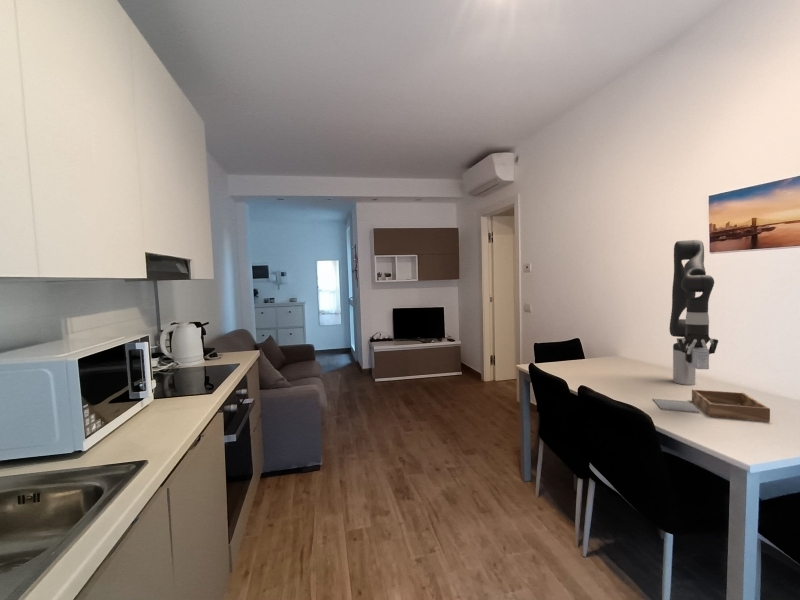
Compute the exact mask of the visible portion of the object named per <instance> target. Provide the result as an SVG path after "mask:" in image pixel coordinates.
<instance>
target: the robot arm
mask: <svg viewBox="0 0 800 600" xmlns="http://www.w3.org/2000/svg"><path fill="white" fill-rule="evenodd" d="M683 261H687V262H686V263H685V264H683ZM704 261H705V246H704V242H703V240H699V239H692V240H691V239H690V240H689V239H688V240H677V241H676V242H675V243H674V246H673V279H672V280H673V281H672V290H671V291H672V293H671V314H670V319H669V334H670V336H671V337H675V338H676V342H675V343H673V345H672V382H674V383H676V384H678V385H679V384H680V385H686V386H694V385H696V370H697V369H696V368H693V367H690V366H688V365H686V361H687V362H688V363H691V354H690V353H691V351H692V349H693V348H694V347H703V348H708V346H707V344H708V342H709V343H710V345H709V348H708V349H709V355H711V354H715V353H716V351H717V350H716V349H717V346H718V343H719V340H718V339H716V338H711V337H710V336H709V335H710V330H709V328H710V316H709V301H710V297H711V293H712V290H713V289H714V285H715V279H714V278H713V276H712V275H710V274H707V272H706V268H705V262H704ZM696 293H701V294H700V295H698V296H697V295H696ZM685 310H686V315H685V318H680V317H681V315H682V313H683V312H684V311H685ZM677 337H678V338H677Z"/></svg>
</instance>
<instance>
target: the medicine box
mask: <svg viewBox="0 0 800 600" xmlns="http://www.w3.org/2000/svg"><path fill="white" fill-rule="evenodd" d="M690 354H691V363H688V362H687V361H686V365H688V366H690V367H693V368H696V370H709V369H710V354H709V348H708V347H707V348H703V347H694V348H693V349H692V351H691V353H690Z"/></svg>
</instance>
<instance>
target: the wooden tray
mask: <svg viewBox="0 0 800 600" xmlns="http://www.w3.org/2000/svg"><path fill="white" fill-rule="evenodd" d="M691 402H693V403H694V404H695V405H696V406H697V407H699V408H700V410H702V411H703V412H704V413H706V414H707V415H708V416H709V417H711V418H724V419H735V420H745V421H746V420H747V421H757V422H766V423H767V422H768V423H770V422H771V409H770V408H769V407H768V406H766V405H764V404H763V403H761V402H759V401H758V400H756V399H754V398H753V397H751V396H749V395H748V394H746V393H744V392H734V391H733V392H732V391H722V390H721V391H716V390H707V389H706V390H705V389H691Z"/></svg>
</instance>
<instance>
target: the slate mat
mask: <svg viewBox="0 0 800 600" xmlns="http://www.w3.org/2000/svg"><path fill="white" fill-rule="evenodd" d="M652 401H653V402H654V403H655V404H656V406H657V407H658V408H659V409H660V410H662V411H663V410H664V411H674V412H685V413H695V414H696V413H700V411H699V410H698V408H696V407H695V406H694V405H693V404H691V402H689V401H688V400H675V399H663V398H652Z"/></svg>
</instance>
